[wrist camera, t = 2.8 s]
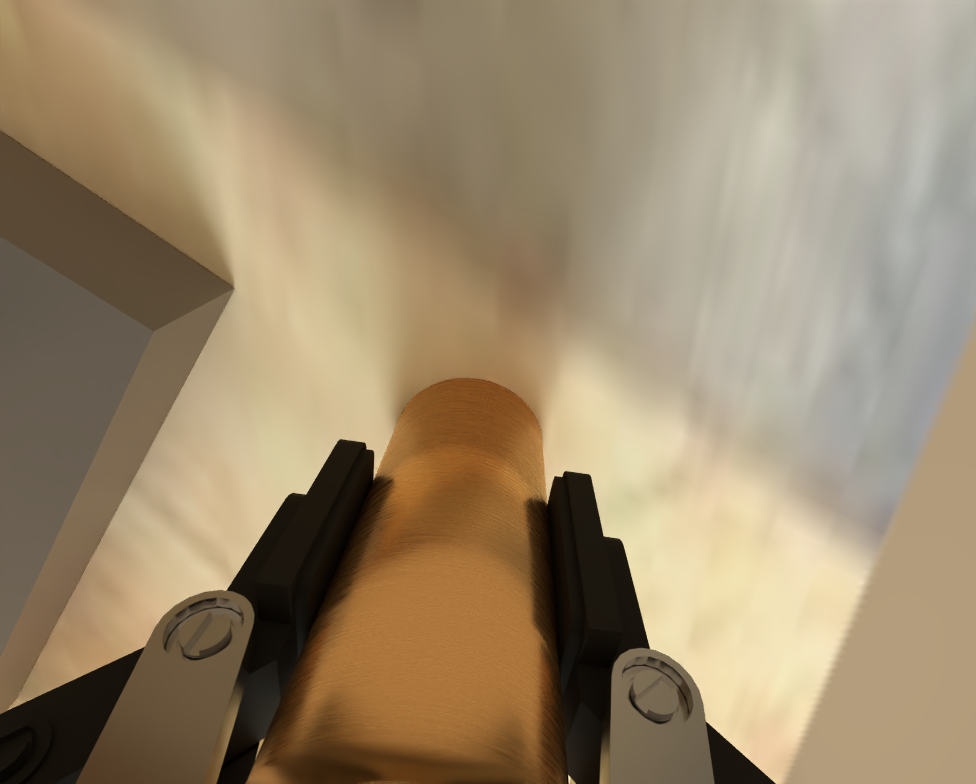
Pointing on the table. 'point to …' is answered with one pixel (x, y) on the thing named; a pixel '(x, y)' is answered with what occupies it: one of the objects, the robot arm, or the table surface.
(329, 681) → the amber bottle
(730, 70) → the table surface
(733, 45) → the table surface
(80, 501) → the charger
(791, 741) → the table surface
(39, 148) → the table surface
